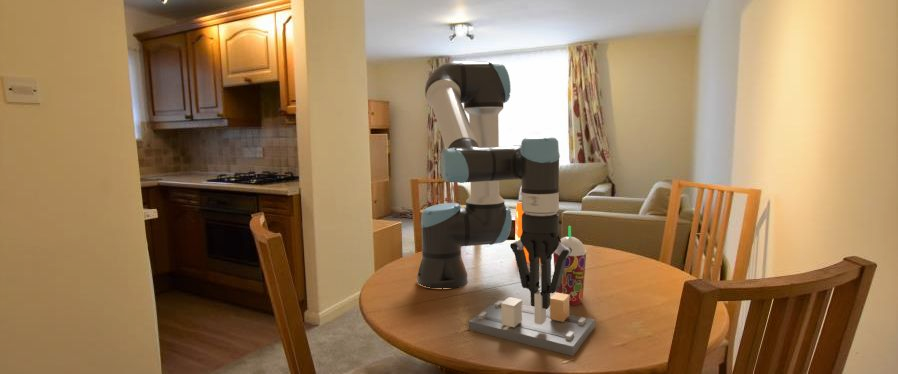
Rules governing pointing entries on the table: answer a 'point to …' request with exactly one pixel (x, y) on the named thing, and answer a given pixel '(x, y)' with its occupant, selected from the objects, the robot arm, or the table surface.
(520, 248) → the robot arm
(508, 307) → the cream fader
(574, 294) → the smoothie
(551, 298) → the orange fader
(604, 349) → the table surface
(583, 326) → the fader console
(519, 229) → the orange juice
